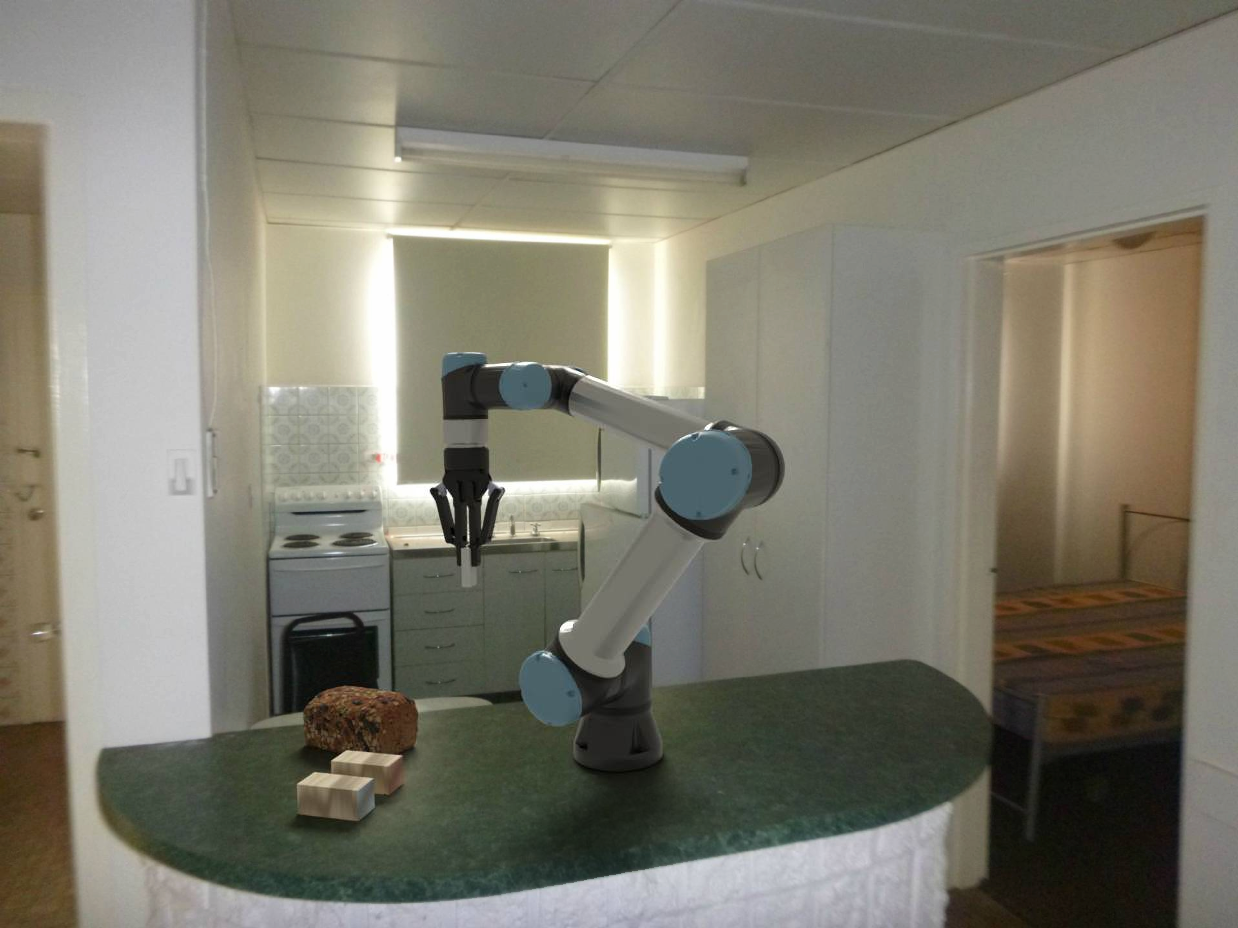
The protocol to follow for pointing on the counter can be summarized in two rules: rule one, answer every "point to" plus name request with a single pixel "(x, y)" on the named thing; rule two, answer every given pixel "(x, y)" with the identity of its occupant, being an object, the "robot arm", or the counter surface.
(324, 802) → the light wood rectangular bar
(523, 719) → the counter surface
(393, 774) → the light wood tall block
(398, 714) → the bread
